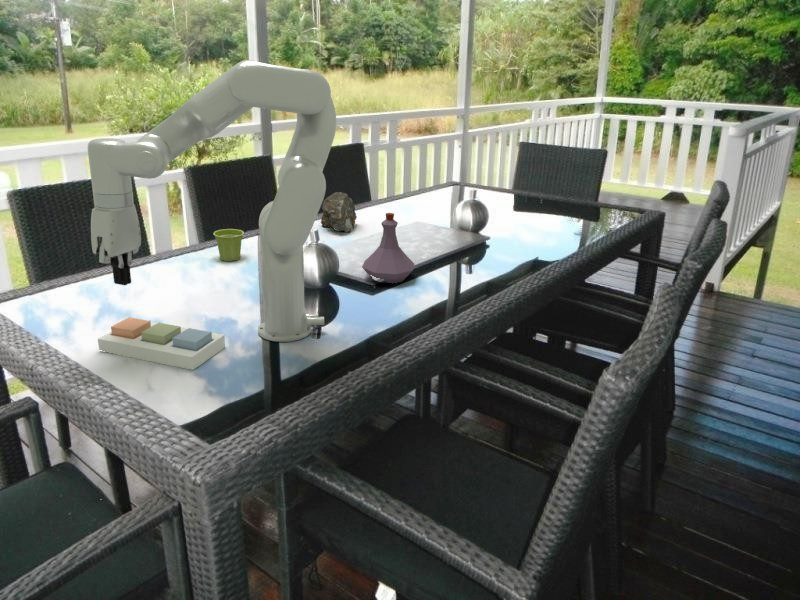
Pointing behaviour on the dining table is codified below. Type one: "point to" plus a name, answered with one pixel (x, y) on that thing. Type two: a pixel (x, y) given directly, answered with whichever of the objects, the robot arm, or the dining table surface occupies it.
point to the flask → (389, 256)
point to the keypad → (161, 350)
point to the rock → (338, 212)
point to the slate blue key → (192, 339)
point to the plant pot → (229, 243)
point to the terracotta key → (130, 328)
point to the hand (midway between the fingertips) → (122, 283)
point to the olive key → (160, 333)
